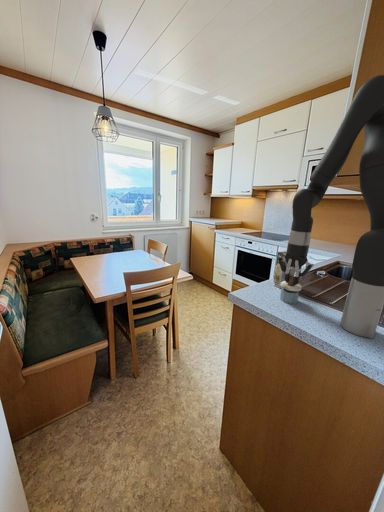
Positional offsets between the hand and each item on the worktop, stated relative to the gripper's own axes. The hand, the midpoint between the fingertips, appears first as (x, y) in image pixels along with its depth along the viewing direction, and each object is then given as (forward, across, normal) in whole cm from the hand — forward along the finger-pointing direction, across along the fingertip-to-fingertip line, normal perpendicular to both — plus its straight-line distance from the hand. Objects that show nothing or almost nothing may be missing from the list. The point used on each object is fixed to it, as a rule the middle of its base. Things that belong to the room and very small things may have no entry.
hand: (291, 283), depth 88 cm
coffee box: (+8, +9, -14) cm, 18 cm away
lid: (+2, 0, 0) cm, 2 cm away
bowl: (+8, 0, 0) cm, 8 cm away
